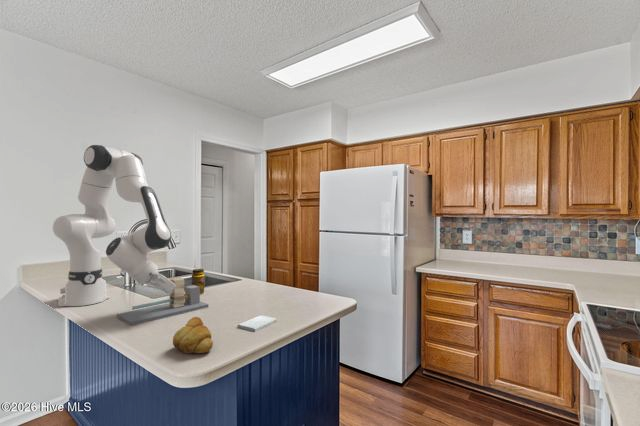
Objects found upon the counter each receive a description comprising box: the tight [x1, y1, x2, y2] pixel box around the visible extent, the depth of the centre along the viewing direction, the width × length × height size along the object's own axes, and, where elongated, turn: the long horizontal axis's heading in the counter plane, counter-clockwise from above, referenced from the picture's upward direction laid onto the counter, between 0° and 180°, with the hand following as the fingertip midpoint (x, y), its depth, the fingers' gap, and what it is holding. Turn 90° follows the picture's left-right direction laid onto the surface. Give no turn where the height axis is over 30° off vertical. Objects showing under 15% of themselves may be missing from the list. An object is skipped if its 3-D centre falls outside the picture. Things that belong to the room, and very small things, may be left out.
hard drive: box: [236, 314, 278, 332], centre depth 114 cm, size 2×8×12 cm
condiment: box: [191, 268, 207, 296], centre depth 156 cm, size 7×8×12 cm
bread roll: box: [172, 316, 214, 354], centre depth 93 cm, size 13×10×8 cm
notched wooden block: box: [169, 277, 185, 308], centre depth 131 cm, size 4×4×11 cm
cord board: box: [116, 284, 209, 327], centre depth 127 cm, size 14×30×8 cm, turn 140°
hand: (170, 292), depth 129 cm, fingers closed, pressing on notched wooden block
